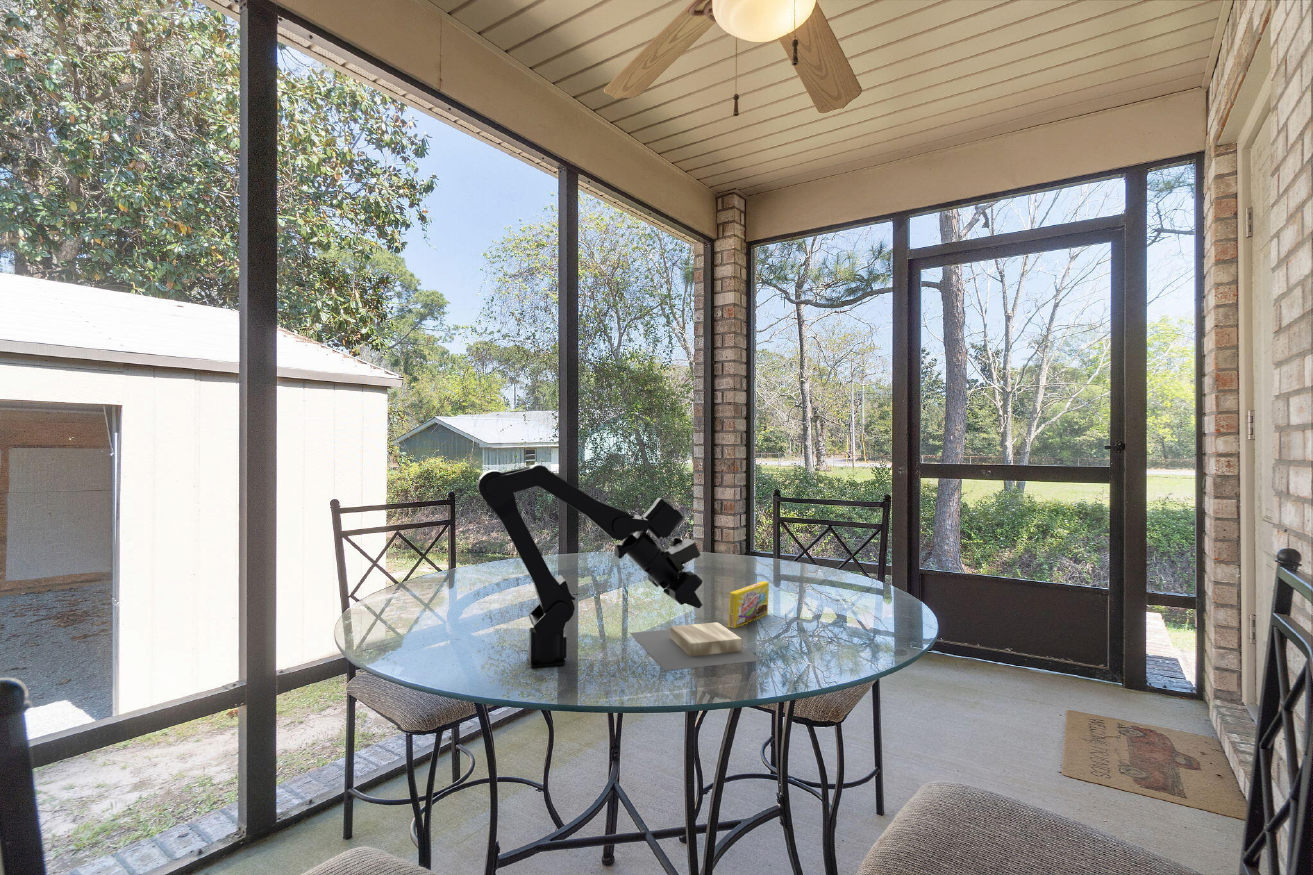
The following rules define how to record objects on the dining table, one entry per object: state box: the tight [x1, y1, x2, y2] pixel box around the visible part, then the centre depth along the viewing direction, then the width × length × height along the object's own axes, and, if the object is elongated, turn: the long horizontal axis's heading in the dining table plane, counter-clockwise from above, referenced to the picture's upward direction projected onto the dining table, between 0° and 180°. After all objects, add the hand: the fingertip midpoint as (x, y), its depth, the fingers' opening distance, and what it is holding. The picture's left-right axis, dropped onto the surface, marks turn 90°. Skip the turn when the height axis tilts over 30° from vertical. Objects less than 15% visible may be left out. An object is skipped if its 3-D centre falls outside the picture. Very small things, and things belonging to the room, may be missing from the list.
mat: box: [629, 629, 762, 672], centre depth 132 cm, size 20×24×1 cm
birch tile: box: [669, 621, 742, 656], centre depth 133 cm, size 2×12×11 cm
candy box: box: [727, 580, 770, 629], centre depth 152 cm, size 16×2×8 cm, turn 143°
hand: (700, 606), depth 133 cm, fingers closed
